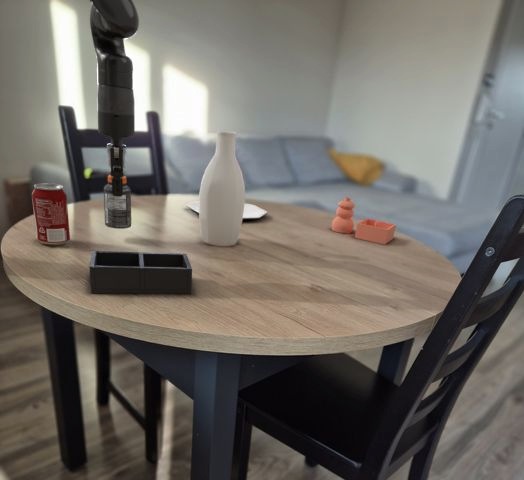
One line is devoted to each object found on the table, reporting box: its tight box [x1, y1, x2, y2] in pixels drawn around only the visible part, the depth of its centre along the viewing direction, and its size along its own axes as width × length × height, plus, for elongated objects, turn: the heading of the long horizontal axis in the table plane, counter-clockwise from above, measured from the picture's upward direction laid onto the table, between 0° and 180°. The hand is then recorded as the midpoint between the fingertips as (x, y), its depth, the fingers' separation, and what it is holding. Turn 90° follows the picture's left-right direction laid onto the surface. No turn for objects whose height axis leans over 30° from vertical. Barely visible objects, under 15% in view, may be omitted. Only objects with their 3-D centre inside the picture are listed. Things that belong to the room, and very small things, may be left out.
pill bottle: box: [103, 174, 132, 230], centre depth 110 cm, size 6×6×11 cm
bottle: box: [198, 129, 246, 247], centre depth 115 cm, size 11×11×25 cm
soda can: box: [31, 182, 71, 247], centre depth 103 cm, size 7×7×12 cm
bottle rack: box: [88, 250, 193, 295], centre depth 89 cm, size 17×9×5 cm, turn 104°
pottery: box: [331, 196, 397, 245], centre depth 142 cm, size 18×10×10 cm, turn 62°
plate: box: [186, 199, 268, 220], centre depth 150 cm, size 24×24×2 cm
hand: (117, 192), depth 109 cm, fingers closed on pill bottle, 6 cm apart
